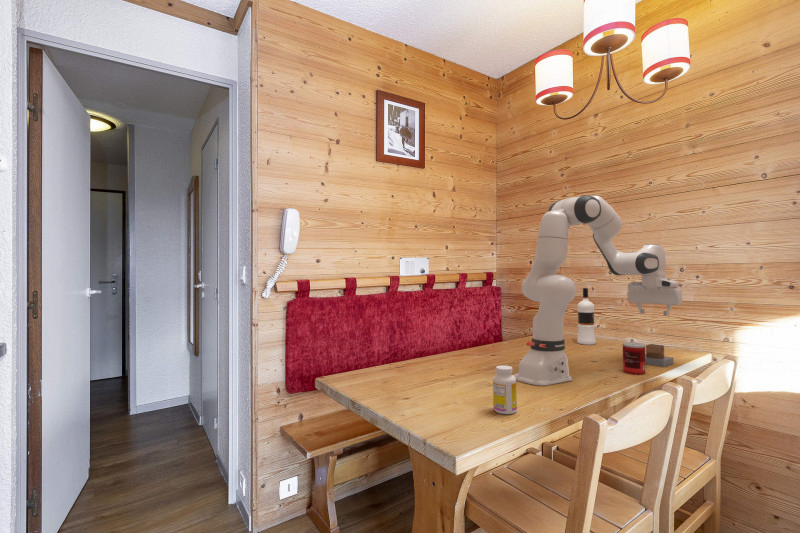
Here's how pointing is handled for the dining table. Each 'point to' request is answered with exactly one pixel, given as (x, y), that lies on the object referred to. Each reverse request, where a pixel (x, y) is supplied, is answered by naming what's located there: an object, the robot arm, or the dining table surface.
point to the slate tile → (659, 361)
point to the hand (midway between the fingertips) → (653, 314)
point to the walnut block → (655, 351)
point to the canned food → (634, 358)
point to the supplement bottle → (504, 391)
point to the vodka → (586, 321)
